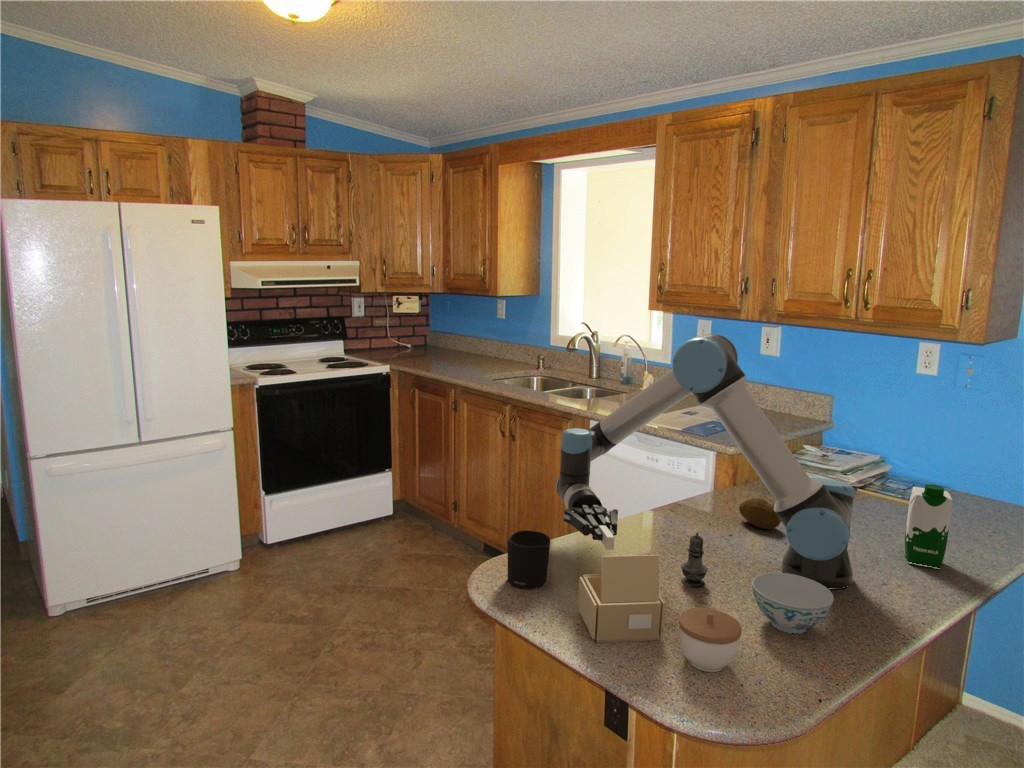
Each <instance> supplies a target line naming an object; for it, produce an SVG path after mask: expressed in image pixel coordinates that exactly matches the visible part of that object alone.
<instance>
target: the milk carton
mask: <svg viewBox="0 0 1024 768" xmlns="http://www.w3.org/2000/svg"><path fill="white" fill-rule="evenodd" d="M953 501H954V500H953V498H952V496H951V494H950V493H949V492H948V491H946V490H945V487H943V486H939V485H936V484H925V485H924V487H920V486H912V490H911V494H910V497H909V504H908V511H907V516H906V525H905V532H904V555H905V554H906V555H905V558H906V557H907V559H906V562H907V561H908V562H912V563H916V564H922V565H927V566H932V567H937V568H941V569H942V565H943V563H944V562H943V561H944V558H945V554H946V550H947V549H946V548H947V545H948V544H947V543H948V536H949V530H950V523H951V518H952V507H953Z"/></svg>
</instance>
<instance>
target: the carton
mask: <svg viewBox="0 0 1024 768" xmlns="http://www.w3.org/2000/svg"><path fill="white" fill-rule="evenodd" d="M577 610H578V612H579V613H580V615H581V618H582V620H583V623H584V624H585V626H586V628H587V630H588V633H589V635H590V637H591V639H592V640H595V642H596V644H597V643H598V644H599V643H623V642H624V643H625V642H644V641H645V642H646V641H648V642H649V641H659V640H660V639H659V638H660V637H664V636H663V635H664V634H663V633H664V622H665V610H666V602H665V600H663V598H662V596H661V595H660V594H659V601H639V602H609V603H602V602H601V573H598V574H597V573H596V574H582V576H579V581H578V600H577ZM659 636H660V637H659Z"/></svg>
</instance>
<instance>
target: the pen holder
mask: <svg viewBox="0 0 1024 768" xmlns="http://www.w3.org/2000/svg"><path fill="white" fill-rule="evenodd" d="M550 547H551V538H550V536H549V535H548V534H546V533H544V532H540V531H537V530H536V531H535V530H519V531H516V532H514V533H513V534H512V535H511V536H510V537H509V538H508V539H507V580H508V582H509V584H510V585H511V586H512V587H514V588H517V589H521V590H536V588H537V589H540V588H542V587H544V586H545V585H546V583H547V580H548V572H549V571H548V570H549V560H550V559H549V558H550V549H551V548H550Z"/></svg>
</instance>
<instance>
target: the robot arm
mask: <svg viewBox="0 0 1024 768" xmlns="http://www.w3.org/2000/svg"><path fill="white" fill-rule="evenodd" d="M738 357H739V354H738V352H737V348H736V346H735V345H734V344H733V342H732V341H731V340H730V339H729V338H727V337H726V336H724V335H721V334H716V333H707V334H704V335H700V336H699V335H698V336H695V337H691V338H690V339H688V340H686V341H685V342H684V343H683V344H681V345H680V347H678V348H677V350H676V352H675V354H674V355H673V358H672V369H670V370H669V371H668V372H666V373H664V374H663V375H661V377H659V378H657V380H655V381H654V382H652V383H650V384H649V385H648V386H647V387H645V388H644V389H643V390H641V391H640V392H639V393H638V394H636V395H634V396H632V397H631V399H629V400H627V401H626V402H625V403H623V404H622V405H620V406H619V407H617V409H615V410H614V411H612V412H611V413H610V414H608V415H606V416H605V417H604V418H602V420H600V421H598V422H597V423H595V424H594V425H593V426H591V427H590V428H589V429H586V428H585V429H584V428H575V427H574V428H567V429H565V430H564V431H563V432H562V435H561V442H560V469H559V471H560V472H559V477H557V480H556V482H555V489H556V493H557V495H558V497H559V499H560V500H561V501H562V502H563V504H564V506H565V507H566V509H564V510H563V522H564V523H565V522H566V523H567V524H570V526H572V527H573V528H574V529H576V530H577V531H578V532H580V533H581V534H582V535H583V536H585V537H586V536H587V537H588V536H589V535H591V536H592V537H591V539H592V540H593V541H600V542H601V544H602V545H603V546H604V548H605V549H606V551H611V550H614V549H615V536H617V535H618V521H619V520H618V518H619V517H618V516H619V510H618V509H616V508H614V509H612V510H608V509H607V508H606V507H604V506H603V504H602V502H601V500H600V498H599V497H598V496H597V495H596V494H595V492H594V490H593V489H592V488H591V487H590V479H591V478H590V477H591V476H590V475H591V464H592V463H591V462H592V461H594V460H596V459H598V458H599V457H601V456H603V455H606V454H607V453H608V452H609V451H610V450H611V449H613V448H614V447H616V446H617V445H618V444H619V443H621V442H622V441H624V440H625V439H627V438H628V437H629V436H631V435H633V434H635V433H636V432H637V431H638V430H640V429H641V428H643V427H645V426H646V425H647V424H649V423H650V422H652V421H653V420H654V419H656V418H657V417H659V416H660V415H662V414H663V413H664V412H666V411H668V410H669V409H670V408H672V407H674V406H675V405H677V404H678V403H679V402H681V401H682V400H684V399H685V398H686V397H688V396H690V395H691V394H693V396H694V398H695V399H696V401H697V403H698V404H699V405H700V406H701V407H706V408H710V409H711V410H712V411H713V412H714V415H716V417H717V419H718V420H719V422H720V423H721V424H722V426H723V427H724V429H725V430H726V431H727V433H728V434H729V436H730V437H731V439H732V440H733V441H734V443H735V444H736V446H737V447H738V449H739V451H740V452H741V453H742V454H743V456H744V457H745V459H746V460H747V461H748V463H749V464H750V466H751V467H752V469H753V470H754V472H755V473H756V474H757V476H758V477H759V478H760V480H761V482H762V483H763V484H764V486H765V487H766V489H767V490H768V492H769V493H770V494H771V496H772V498H773V499H774V505H773V506H774V511H775V513H776V514H777V516H778V517H779V519H780V520H781V522H780V523H782V525H783V526H784V528H785V529H786V530H785V533H786V538H787V541H788V543H789V546H788V548H787V550H786V552H785V554H784V556H783V558H782V563H781V571H782V573H783V572H784V573H787V574H794V575H798V576H802V577H805V578H808V579H811V580H814V581H816V582H818V583H820V584H822V585H823V586H825V587H826V588H843V587H847V586H849V585H850V584H851V583H853V578H854V577H853V576H854V575H853V568H852V564H851V559H850V555H849V551H848V546H849V542H850V539H851V524H852V523H851V522H852V515H853V508H854V507H853V506H854V500H855V498H856V496H855V488H854V487H853V486H852V485H850V484H849V483H846V482H843V481H839V480H834V479H829V478H823V477H821V478H820V477H811V476H809V475H808V474H807V471H805V469H804V468H803V466H802V465H801V464H800V462H799V460H797V458H796V457H795V455H794V454H793V452H792V451H791V449H790V448H789V447H788V445H787V444H786V442H785V441H784V439H783V438H782V436H780V433H779V432H777V431H778V430H776V428H775V427H774V425H773V424H772V423H771V422H770V420H769V419H768V417H767V416H766V415H765V413H764V411H763V410H762V409H761V407H760V406H759V405H758V403H757V402H756V400H755V399H754V397H753V396H752V394H751V393H750V391H748V389H747V388H746V381H747V375H746V374H745V372H744V371H743V370H742V368H741V366H740V364H738V362H739V361H738V360H739V359H738ZM606 517H607V518H608V520H607V519H606ZM851 585H852V584H851ZM851 585H850V586H851ZM850 586H849V587H850ZM847 588H848V587H847Z"/></svg>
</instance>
